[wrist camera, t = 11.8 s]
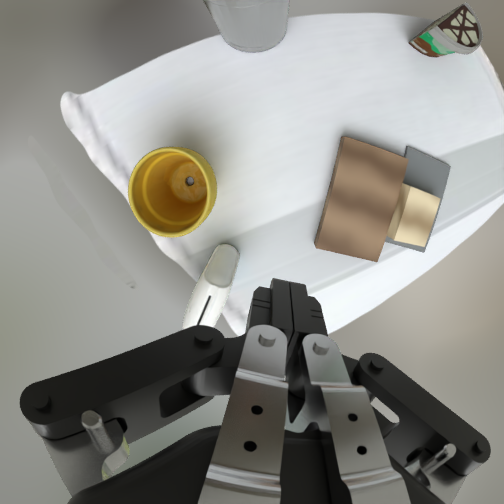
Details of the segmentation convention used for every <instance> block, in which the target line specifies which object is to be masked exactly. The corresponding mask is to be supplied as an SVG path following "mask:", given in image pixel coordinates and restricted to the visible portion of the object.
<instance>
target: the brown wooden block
mask: <svg viewBox="0 0 504 504" xmlns="http://www.w3.org/2000/svg"><path fill="white" fill-rule="evenodd" d="M408 160H409V159H407V158H404V157H402V156H399V155H397V154H394V153H392V152H389V151H386V150H384V149H381V148H378V147H375V146H372V145H370V144H367V143H364V142H361V141H358V140H355V139H352V138H348V137H345V136H344V137H341V140H340V145H339V149H338V154H337V158H336V162H335V166H334V170H333V174H332V178H331V182H330V186H329V190H328V194H327V198H326V202H325V205H324V209H323V213H322V216H321V220H320V224H319V227H318V231H317V234H316V238H315V241H314V245H315V247H316V248H318V249H322V250H327V251H331V252H335V253H340V254H344V255H349V256H353V257H357V258H362V259H366V260H370V261H374V262H377V261H378V259H379V256H380V253H381V250H382V248H383V245H384V242H385V239H386V236H387V232H388V229H389V226H390V223H391V220H392V217H393V214H394V210H395V207H396V204H397V200H398V197H399V194H400V190H401V186H402V183H403V180H404V176H405V173H406V169H407V164H408Z"/></svg>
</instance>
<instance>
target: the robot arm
mask: <svg viewBox="0 0 504 504" xmlns="http://www.w3.org/2000/svg"><path fill="white" fill-rule="evenodd" d="M203 1H204V3H205V5H206V7H207V8H208V10H209V12H210V14H211V16H212V17H213V19H214V21H215V23H216V25H217V27H218V29H219V31H220V33H221V35H222V36H223V38H224V40H225V41H226V42H227V43H228V44H229V45H230V46H232V47H233V48H235V49H237V50H240V51H244V52H262V51H265V50H268V49H271V48H273V47H274V46H276V45H277V44H278V43H280V41H281V40H282V39H283V37H284V36H285V33H286V29H287V20H288V11H289V0H203ZM323 318H324V317H323V313H322V309H321V305H320V303H319V302H318V301H317V300H316V298H315V297H311V296H308V294H307V289H306V285H305V284H300V283H295V282H289V281H285V280H280V279H275V278H273V279H272V281H271V285H270V288H265V287H260V286H259V287H258V288H257V289H256V290H255V291H254V293H253V298H252V302H251V306H250V310H249V314H248V319H247V325H246V332H245V334H243V335H242V336H239V337H235V338H224V336H223V334H222V333H221V332H220V331H218V330H217V329H215V328H213V327H210V326H206V325H195V326H191V327H189V328H186V329H184V330H181V331H179V332H176V333H174V334H171V335H169V336H166V337H164V338H161V339H159V340H156V341H153V342H151V343H148V344H146V345H143V346H140V347H138V348H135V349H132V350H130V351H127V352H124V353H122V354H119V355H116V356H113V357H111V358H108V359H105V360H102V361H99V362H97V363H94V364H91V365H88V366H85V367H82V368H80V369H76V370H73V371H70V372H67V373H64V374H61V375H58V376H55V377H52V378H49V379H45V380H42V381H39V382H35V383H33V384H31V385H29V386H28V387H26V388H25V389H24V391H23V392H22V394H21V397H20V408H21V411H22V413H23V415H24V416H25V417H26V419H27V420H28V421H29V422H30V424H31V425H32V426H33V428H34V430H35V431H36V433H37V434H38V435H39V436H40V437H41V439H42V440H43V441H44V443H45V445H46V448H47V450H48V452H49V454H50V456H51V459H52V460H53V463H54V465H55V467H56V469H57V471H58V472H59V474H60V476H61V478H62V480H63V482H64V483H65V485H66V487H67V489H68V490H69V492H70V494H71V495H72V498H71V499H70V500H69V502H68V504H452V502H453V500H454V499H455V497H456V495H457V493H458V491H459V490H460V488H461V486H462V484H463V482H464V480H465V478H466V476H467V475H468V474H470V473H471V472H472V471H474V470H475V469H476V468H478V467H479V466H481V465H482V464H483V463H484V462H486V461H487V460H488V458H489V457H490V452H491V449H490V445H489V442H488V440H487V439H486V438H485V437H484V436H483V435H482V434H481V433H479V432H478V431H477V430H475V429H474V428H473V427H472V426H470V425H469V424H468V423H467V422H465V421H464V420H463V419H462V418H460V417H459V416H458V415H456V414H455V413H454V412H452V411H451V410H450V409H449V408H448V407H446V406H445V405H444V404H442V403H441V402H440V401H439V400H437V399H436V398H435V397H434V396H432V395H431V394H430V393H429V392H427V391H426V390H425V389H423V388H422V387H421V386H420V385H418V384H417V383H416V382H415V381H413V380H412V379H411V378H409V377H408V376H407V375H406V374H404V373H403V372H402V371H401V370H399V369H398V368H397V367H395V366H394V365H393V364H392V363H390V362H389V361H388V360H387V359H385V358H384V357H382V356H380V355H378V354H375V353H366V354H364V355H362V356H361V358H360V359H359V361H358V360H355V359H352V358H350V357H347V356H344V355H342V354H341V352H340V349H339V347H338V345H337V344H336V342H334V340H332V339H331V338H329V337H328V334H327V330H326V325H325V321H324V319H323ZM284 376H286V381H284ZM215 395H230V398H229V401H228V405H227V408H226V411H225V415H224V418H223V422H222V425H219V426H211V427H207V428H203V429H200V430H197V431H194V432H192V433H190V434H188V435H186V436H185V437H183V438H182V439H180V440H178V441H177V442H175V443H174V444H172V445H170V446H168V447H167V448H165V449H163V450H162V451H160V452H158V453H157V454H155V455H153V456H151V457H149V458H148V459H146V460H144V461H142V462H140V463H139V464H137V465H135V466H133V467H131V468H129V469H127V470H125V471H123V472H121V473H119V474H117V475H115V476H113V477H112V474H113V472H114V471H115V470H116V469H117V468H118V467H119V466H121V465H122V464H124V463H125V462H126V460H127V459H128V457H129V445H128V444H130V443H132V442H134V441H136V440H138V439H140V438H142V437H144V436H146V435H148V434H150V433H152V432H154V431H156V430H158V429H160V428H162V427H164V426H166V425H168V424H170V423H172V422H173V421H175V420H177V419H179V418H181V417H182V416H184V415H186V414H188V413H189V412H191V411H193V410H195V409H197V408H198V407H200V406H202V405H203V404H205V403H207V402H209V401H210V400H211V399H213V397H214V396H215ZM375 397H377V398H378V399H379V400H380V401H381V402H382V403H384V404H385V405H386V406H387V407H389V408H390V409H391V410H392V411H393V412H394V413H395V414H397V415H398V417H399V422H398V423H392V422H390V421H389V420H388V419H387V418H386V417H385V416H383V415H382V414H381V413H380V412H379V411H378V410H376V409H375V408H374V407H373V406H372V405H371V402H372V401H373V399H374V398H375Z"/></svg>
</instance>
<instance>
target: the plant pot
mask: <svg viewBox="0 0 504 504" xmlns="http://www.w3.org/2000/svg"><path fill="white" fill-rule="evenodd" d="M188 177H192V178H193V179H194V184H193V185H191V186H190V185H188V184H187V183H186V180H187V178H188ZM216 195H217V183H216V178H215V175H214V172H213V170H212V168H211V166H210V165H209V163H208V162H207V161H206V159H205V158H203V157H202V156H201V155H200V154H198V153H197V152H195V151H193V150H190V149H187V148H182V147H163V148H159V149H156V150H153V151H151V152H149V153H148V154H146V155H145V156H144V157H143V158H142V159H141V160H140V161H139V162H138V163H137V165H136V166H135V168H134V169H133V172H132V174H131V177H130V180H129V186H128V197H129V203H130V206H131V209H132V211H133V213H134V215H135V217H136V218H137V220H138V221H139V222H140V223H141V224H142V225H143V226H144V227H145V228H146V229H147V230H149V231H150V232H152V233H154V234H156V235H159V236H163V237H179V236H183V235H186V234H188V233H190V232H192V231H193V230H195V229H196V228H197V227H198V226H200V224H201V223H202V222H203V221H204V220H205V219H206V218H207V217H208V215H209V214H210V212H211V210H212V209H213V206H214V204H215V200H216Z"/></svg>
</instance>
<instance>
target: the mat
mask: <svg viewBox="0 0 504 504" xmlns="http://www.w3.org/2000/svg"><path fill="white" fill-rule="evenodd" d="M404 158H407V159H409V160H408V164H407V169H406V173H405V176H404V180H403V184H406V185H409V186H411V187H414V188H416V189H419V190H421V191H424V192H426V193H429V194H431V195H434V196H436V197H438V198H441V199H440V202H439V206H438V209H437V212H436V215H435V219H434V222H433V225H432V228H431V231H430V233H429V236H428V239H427V242H426V244H425V247H422V246H418V245H413V244H408V243H404V242H399V241H394V240H393V239H391V238H390V237H388V236H386V239H385V242H388V243H392V244H395V245H399V246H403V247H406V248H410V249H413V250H417V251H420V252H425V249H426V246H427V244H428V241H429V238H430V235H431V233H432V230H433V227H434V224H435V221H436V218H437V215H438V211H439V208H440V205H441V201H442V198H443V194H444V191H445V187H446V183H447V179H448V175H449V171H450V167H451V166H449V165H447V164H445V163H443V162H441V161H439V160H437V159H435V158H433V157H431V156H428V155H426V154H424V153H422V152H420V151H417V150H415V149H413V148H411V147H408V146H407V147H406V151H405V156H404Z"/></svg>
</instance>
